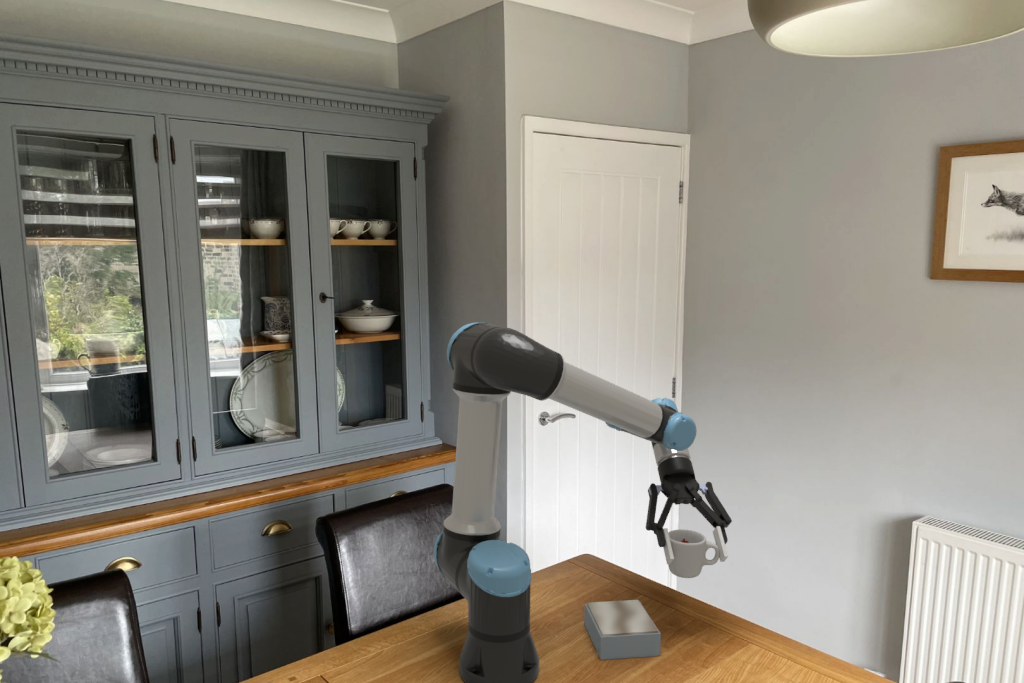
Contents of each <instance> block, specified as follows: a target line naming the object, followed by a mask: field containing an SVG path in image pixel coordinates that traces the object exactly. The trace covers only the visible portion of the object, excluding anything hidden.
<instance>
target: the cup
mask: <svg viewBox="0 0 1024 683" xmlns="http://www.w3.org/2000/svg"><path fill="white" fill-rule="evenodd" d="M668 533H669V538H670V542H671V547H672V551H673V556H674V560H673V561H672V563H671V564H667V566H668V568H669V572H670V573H671V574H672V575H674V576H676V577H679V578H682V579H693V578H696V577H699V576H700V574H701V573H702V570H703V567H704V566H714V565H715V564H717V563H718V561H719V560H720V558H719V555H720V551H719V548H718V546H717V545H716V543H715V542H712V541H707V537H706V536H705V535H704V534H702V533H701V532H699V531H696V530H691V529H690V530H689V529H673V530H670V531H668ZM709 549H714V552H715V553H714V557H712V559H708V558H706V554H707V551H708V550H709Z"/></svg>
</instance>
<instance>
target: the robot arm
mask: <svg viewBox="0 0 1024 683" xmlns="http://www.w3.org/2000/svg"><path fill="white" fill-rule="evenodd" d="M446 359H447V363H448V364H449V368H450V369H451V370H452V371H453V377H452V390H453V392H454V393H455V394H456V395H457V397H458V398H459V401H458V402H459V404H458V416H457V417H458V418H457V419H458V420H457V435H456V449H455V460H454V462H455V463H454V464H455V465H454V478H453V489H452V490H453V491H452V492H453V493H452V504H451V505H452V507H451V513H450V515H449V516H447V517H446V518H445V519H444V520H443V527H442V528H443V529H442V531H441V532H440V533H439V534H438V536H437V537H436V539H435V541H434V545H433V546H434V547H433V559H434V563H435V565H436V567H437V569H438V571H439V572H440V574H441V576H442V577H443V578H444V579H445V580H446V581H447V582H448V583H449V584H451V586H453V588H455V589H456V591H457V592H458V593H459V594H460V595H461V596H462V597H463V598H464V599H465V600H466V601H467V608H468V610H467V612H468V613H467V614H468V616H467V618H468V619H467V620H468V625H467V626H468V627H467V629H468V631H467V634H466V637H465V640H464V642H463V646H462V649H461V652H460V654H459V661H458V665H459V666H458V669H459V670H458V671H459V675H460V678H461V679H462V681H463V682H465V683H533V682H535V680H536V679H537V677H538V676H539V673H540V658H539V654H538V651H537V648H536V645H535V642H534V639H533V635H532V633H531V589H532V588H531V586H532V585H531V583H532V568H531V562H530V561H531V560H530V557H529V555H528V553H527V552H526V550H524V549H523V547H521V546H520V545H517V543H514V542H507V540H501V523H500V522H499V520H498V519H497V518H496V517H495V509H496V508H495V505H496V494H497V481H498V480H497V479H498V465H499V455H500V454H499V452H500V441H501V440H500V439H501V428H502V427H501V426H502V411H503V401H504V400H505V399H506V398H508V396H509V395H511V393H516V394H520V395H523V396H527V397H530V398H533V399H535V400H538V401H541V402H542V401H546V400H548V399H550V400H552V401H554V402H556V403H559V404H561V405H564V406H565V407H568V408H572V409H573V410H575V411H578V412H581V413H583V414H585V415H588V416H590V417H593V418H595V419H597V420H600V421H602V422H604V423H605V424H606V426H608V427H609V428H611V429H614V430H616V431H618V432H620V431H621V432H624V433H628V434H630V435H633V436H635V437H637V438H640V439H644V440H646V441H649V442H650V443H651V445H652V446H651V447H652V450H653V454H654V458H655V464H656V467H657V472H658V477H659V481H660V484H658V485H657V484H655V483H654V482H653V483H650V484H649V487H648V489H647V493H648V497H649V498H648V499H649V500H648V507H647V508H648V509H647V515H646V522H645V529H646V531H653V534H655V535H656V540H657V545H658V547H659V548H663V553H664V557H665V561H666V565H668V564H671V563H672V561H673V560H674V556H673V551H672V547H671V542H670V538H669V529H668V528H664V526H665V523H666V521H667V519H668V517H669V514H670V511H671V509H672V506H673V504H674V505H675V506H676V505H681V504H683V505H691V506H692V507H693V508H695V509H696V510H697V511H698V512H699V513H700V515H702V516H703V518H704V519H705V520H706V521H707V522H708V523H709V524H710V526H712V527H713V528H714V529H713V531H712V536H713V539H714V544H716V545H717V546H718V548H719V551H720V555H719V561H720V562H721V563H724V562H725V561H726V560H727V559H728V558H729V554H728V550H727V547H726V544H727V543H728V541H729V540H728V537H727V536H728V535H727V531H726V529H727V528H728V527H729V526H730V525H731V523H732V522H733V520H732V518H731V516H730V515H729V513H728V512H727V510H726V508H725V507H724V505H723V504H722V502H721V501H720V499H719V497H718V496H717V494H716V493H715V491H714V488H713V483H712V482H710V481H706V483H699V482H698V481H697V479H696V475H695V474H696V473H695V471H694V466H693V462H692V461H691V455H690V451H689V448H690V447H691V446H692V445H693V444H694V441H695V439H696V437H697V425H696V423H695V421H694V419H693V418H692V417H690V416H689V415H686V414H684V413H682V412H680V411H678V407H677V404H676V403H675V401H674V400H672V399H671V398H667V397H663V398H661V397H656V398H654V399H652V400H649V399H648V398H646V397H645V396H641V395H639V394H636V393H634V392H633V391H630V390H628V389H626V388H624V387H621V386H620V385H618V384H615V383H612V382H611V381H608V380H606V379H604V378H601V377H599V376H597V375H595V374H593V373H590V372H588V371H586V370H583V369H582V368H579V367H577V366H575V365H573V364H570V363H568V362H566V361H565V358H564V356H563V355H562V354H561V353H559V352H557V351H555V350H553V349H550V348H549V347H547V346H545V345H544V344H541V343H540V342H538V341H536V340H535V339H532V338H531V337H530V336H528V335H526V334H525V333H522V332H520V331H519V330H516V329H513V328H511V327H506V326H500V325H496V324H493V323H491V322H490V323H488V322H470V323H467V324H464V325H463V326H461V327H459V328H458V329H457V331H454V333H453V334H452V336H451V337H450V338H449V341H448V344H447V348H446ZM699 491H700V492H701V494H702V495H704V498H705V499H706V501H707V502H706V501H705V500H704V499H703V497H702V496H701V495H700V493H698V492H699ZM661 493H662V494H663V495H664V496H665V497H666V498H667V499H666V501H665V504H664V506H663V509H662V511H661V514H660V515H659V516H660V517H659V518H658V521H657V522H655V520H656V513H657V504H658V496H659V495H660V494H661ZM707 503H708V504H707Z"/></svg>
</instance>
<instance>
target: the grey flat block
mask: <svg viewBox="0 0 1024 683" xmlns="http://www.w3.org/2000/svg"><path fill="white" fill-rule="evenodd" d="M583 615H584V616H583V617H584V618H583V619H584V620H583V622H584V627H585V628H586V631H587V634H588V636H589V638H590V641H592V645H593V646H594V649H595V651H596V653H597V655H598V657H599V660H600V661H604V660H605V661H606V660H618V659H621V660H622V659H632V658H635V659H636V658H646V657H647V658H648V657H659V656H661V643H662V642H661V640H662V639H661V638H662V633H661V631H660V630H659V629H658V628H659V627H657V626H656V624H655V622H654V621H653V620H652V617H651V616H650V615H649V613H648V611H647V610H646V608H645V607H644V605H643V604H642V602H641V601H640V600H639V599H626V600H624V599H623V600H612V601H611V600H609V601H607V600H606V601H594V602H593V601H591V602H587V603H584V614H583Z"/></svg>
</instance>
